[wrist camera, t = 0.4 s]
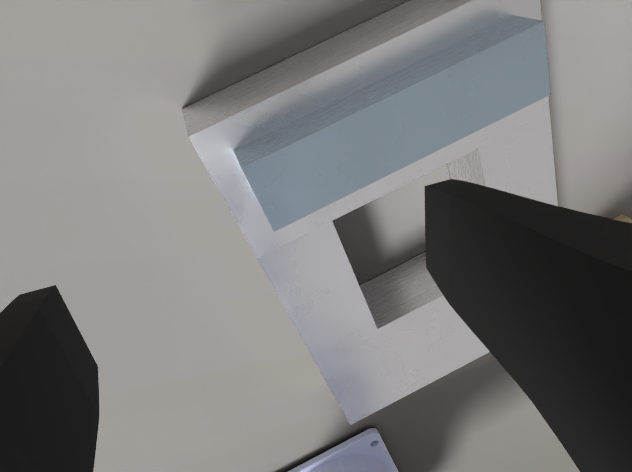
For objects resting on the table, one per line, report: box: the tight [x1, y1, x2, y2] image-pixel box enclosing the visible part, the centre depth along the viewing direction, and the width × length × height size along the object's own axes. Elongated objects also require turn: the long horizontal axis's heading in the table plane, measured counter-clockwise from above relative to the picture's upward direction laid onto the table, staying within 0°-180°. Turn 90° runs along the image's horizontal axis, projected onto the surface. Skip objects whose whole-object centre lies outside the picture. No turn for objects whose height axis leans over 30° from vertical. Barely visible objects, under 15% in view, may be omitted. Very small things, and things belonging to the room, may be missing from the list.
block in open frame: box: [182, 0, 558, 425], centre depth 20 cm, size 16×12×4 cm
